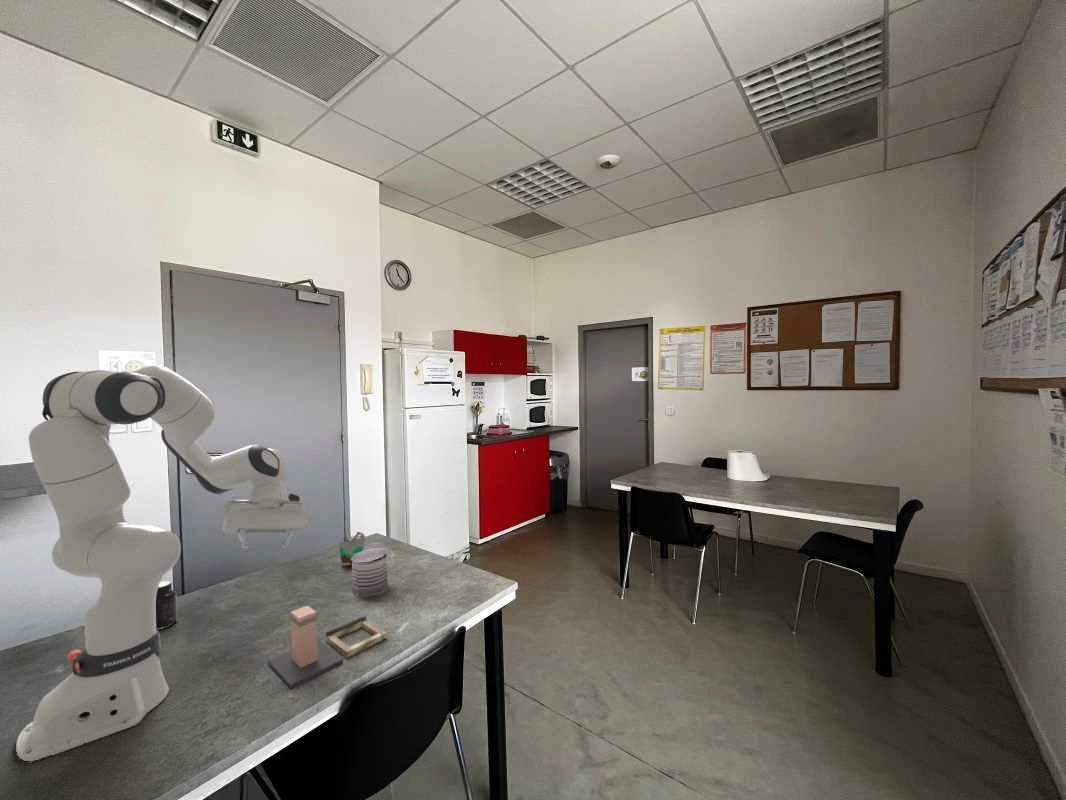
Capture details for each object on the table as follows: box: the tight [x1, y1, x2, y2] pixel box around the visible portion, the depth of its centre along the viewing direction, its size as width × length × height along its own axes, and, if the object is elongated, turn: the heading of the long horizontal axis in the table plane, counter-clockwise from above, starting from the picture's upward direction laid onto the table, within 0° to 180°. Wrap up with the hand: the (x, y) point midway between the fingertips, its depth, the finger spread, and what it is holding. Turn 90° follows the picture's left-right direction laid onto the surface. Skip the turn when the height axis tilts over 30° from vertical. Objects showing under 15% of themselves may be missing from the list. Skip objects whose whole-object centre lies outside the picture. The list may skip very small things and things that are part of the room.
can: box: [351, 547, 389, 597], centre depth 149 cm, size 11×11×12 cm
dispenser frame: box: [324, 615, 388, 658], centre depth 119 cm, size 11×12×2 cm
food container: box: [338, 531, 366, 568], centre depth 171 cm, size 12×6×10 cm, turn 168°
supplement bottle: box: [156, 580, 178, 628], centre depth 128 cm, size 7×7×12 cm
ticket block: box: [289, 605, 318, 668], centre depth 109 cm, size 4×5×12 cm
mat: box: [267, 638, 344, 689], centre depth 109 cm, size 12×14×1 cm
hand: (265, 546), depth 119 cm, fingers open, 8 cm apart
